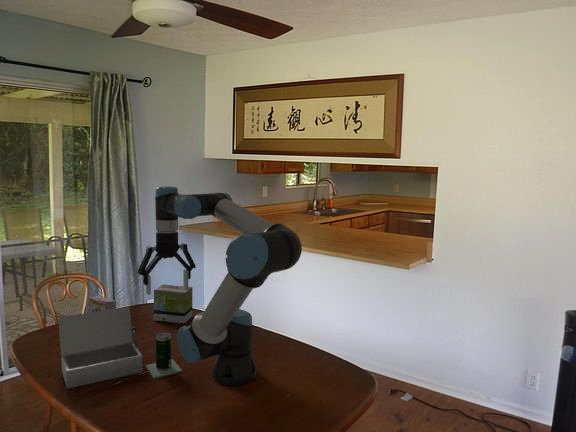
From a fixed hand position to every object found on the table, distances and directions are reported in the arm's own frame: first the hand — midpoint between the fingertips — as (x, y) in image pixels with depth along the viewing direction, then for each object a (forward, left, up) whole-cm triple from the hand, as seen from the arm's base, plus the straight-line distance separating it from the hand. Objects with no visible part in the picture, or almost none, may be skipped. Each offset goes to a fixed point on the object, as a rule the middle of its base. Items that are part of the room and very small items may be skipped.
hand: (167, 291), depth 164 cm
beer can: (-2, +2, -27) cm, 28 cm away
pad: (-2, +2, -28) cm, 28 cm away
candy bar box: (+37, +15, -28) cm, 49 cm away
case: (+9, +20, -28) cm, 36 cm away
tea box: (+45, -17, -28) cm, 56 cm away
